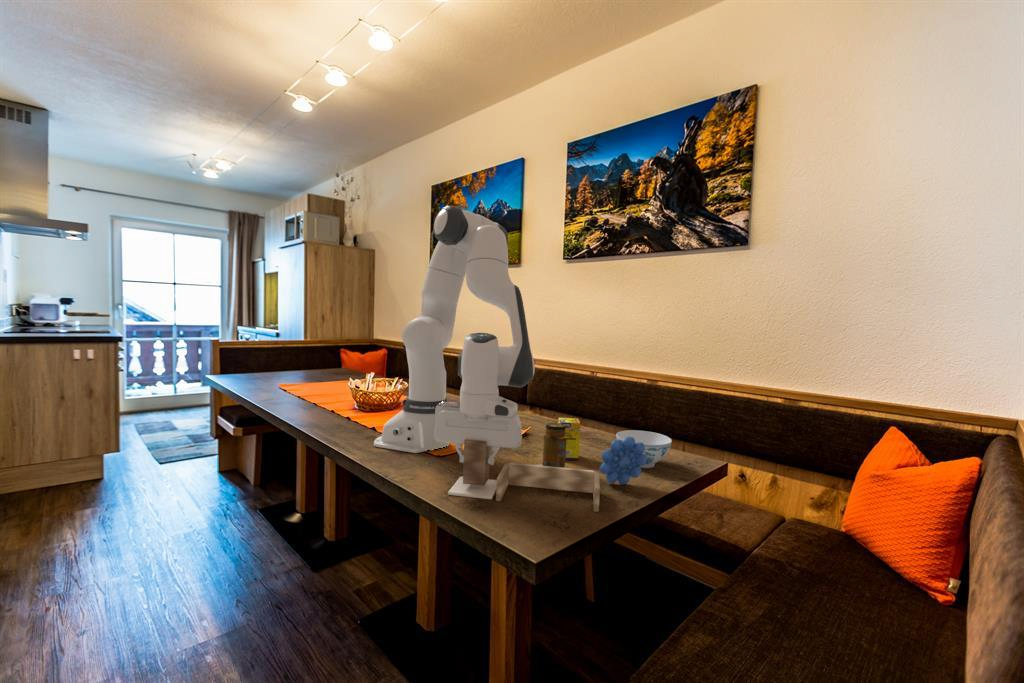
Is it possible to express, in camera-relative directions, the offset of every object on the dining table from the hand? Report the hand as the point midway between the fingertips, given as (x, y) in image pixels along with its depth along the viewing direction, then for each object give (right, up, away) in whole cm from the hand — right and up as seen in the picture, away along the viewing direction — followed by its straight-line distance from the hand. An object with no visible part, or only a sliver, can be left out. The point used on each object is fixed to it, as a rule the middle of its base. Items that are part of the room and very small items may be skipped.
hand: (476, 463), depth 104 cm
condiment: (+19, -6, +15) cm, 25 cm away
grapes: (+35, -7, +8) cm, 37 cm away
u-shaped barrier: (+16, -7, -2) cm, 18 cm away
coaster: (0, -6, 0) cm, 6 cm away
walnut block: (0, -4, 0) cm, 4 cm away
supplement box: (+24, -6, +27) cm, 36 cm away
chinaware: (+45, -7, +23) cm, 51 cm away
